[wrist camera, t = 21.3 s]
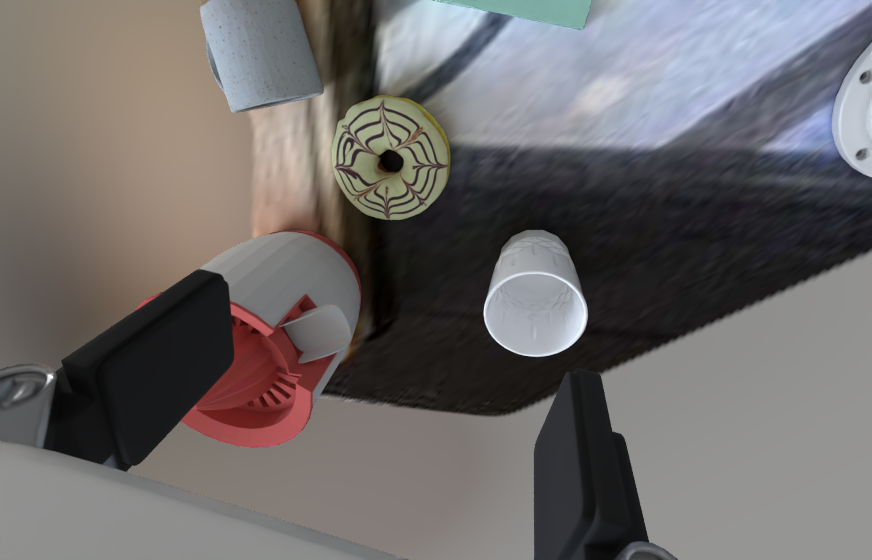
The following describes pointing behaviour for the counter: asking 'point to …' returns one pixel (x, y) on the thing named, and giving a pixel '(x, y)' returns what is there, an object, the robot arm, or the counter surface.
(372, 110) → the decorated donut
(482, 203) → the counter surface
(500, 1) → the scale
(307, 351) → the citrus juicer
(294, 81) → the ceramic mug
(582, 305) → the white cup
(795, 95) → the counter surface
